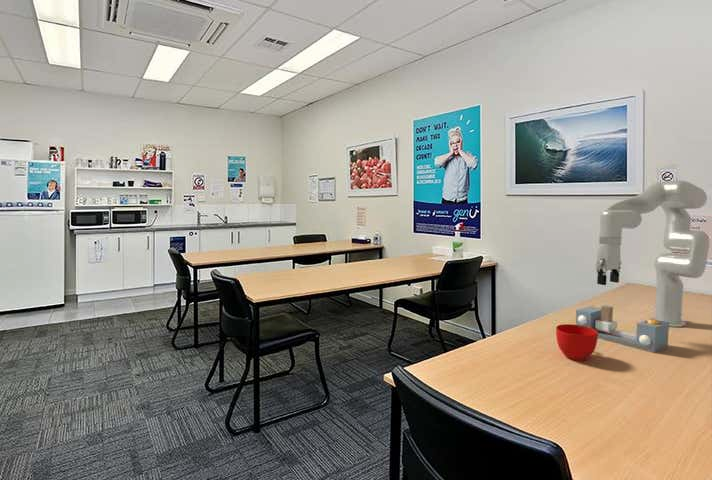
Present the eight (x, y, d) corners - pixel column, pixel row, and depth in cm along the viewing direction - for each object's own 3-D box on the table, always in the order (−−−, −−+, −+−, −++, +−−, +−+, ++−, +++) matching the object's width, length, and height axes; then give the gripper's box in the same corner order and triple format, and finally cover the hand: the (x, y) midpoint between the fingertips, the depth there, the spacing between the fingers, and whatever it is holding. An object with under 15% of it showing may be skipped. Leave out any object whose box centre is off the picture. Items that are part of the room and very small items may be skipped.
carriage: (604, 327, 170) (605, 304, 169) (616, 330, 165) (618, 306, 164) (595, 330, 166) (596, 306, 165) (607, 333, 162) (609, 309, 161)
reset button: (649, 326, 154) (650, 318, 153) (660, 328, 151) (661, 320, 150) (645, 327, 152) (645, 319, 151) (656, 330, 149) (656, 322, 148)
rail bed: (589, 327, 177) (590, 306, 176) (667, 347, 152) (669, 322, 151) (574, 332, 171) (575, 310, 170) (653, 353, 146) (654, 327, 145)
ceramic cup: (589, 349, 151) (590, 323, 150) (600, 366, 135) (602, 337, 134) (551, 345, 155) (552, 320, 154) (557, 361, 139) (559, 333, 138)
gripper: (611, 239, 170) (609, 279, 171) (588, 241, 161) (587, 284, 162) (631, 241, 164) (628, 282, 165) (608, 243, 155) (606, 287, 156)
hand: (608, 283), depth 164 cm, fingers open, 9 cm apart
